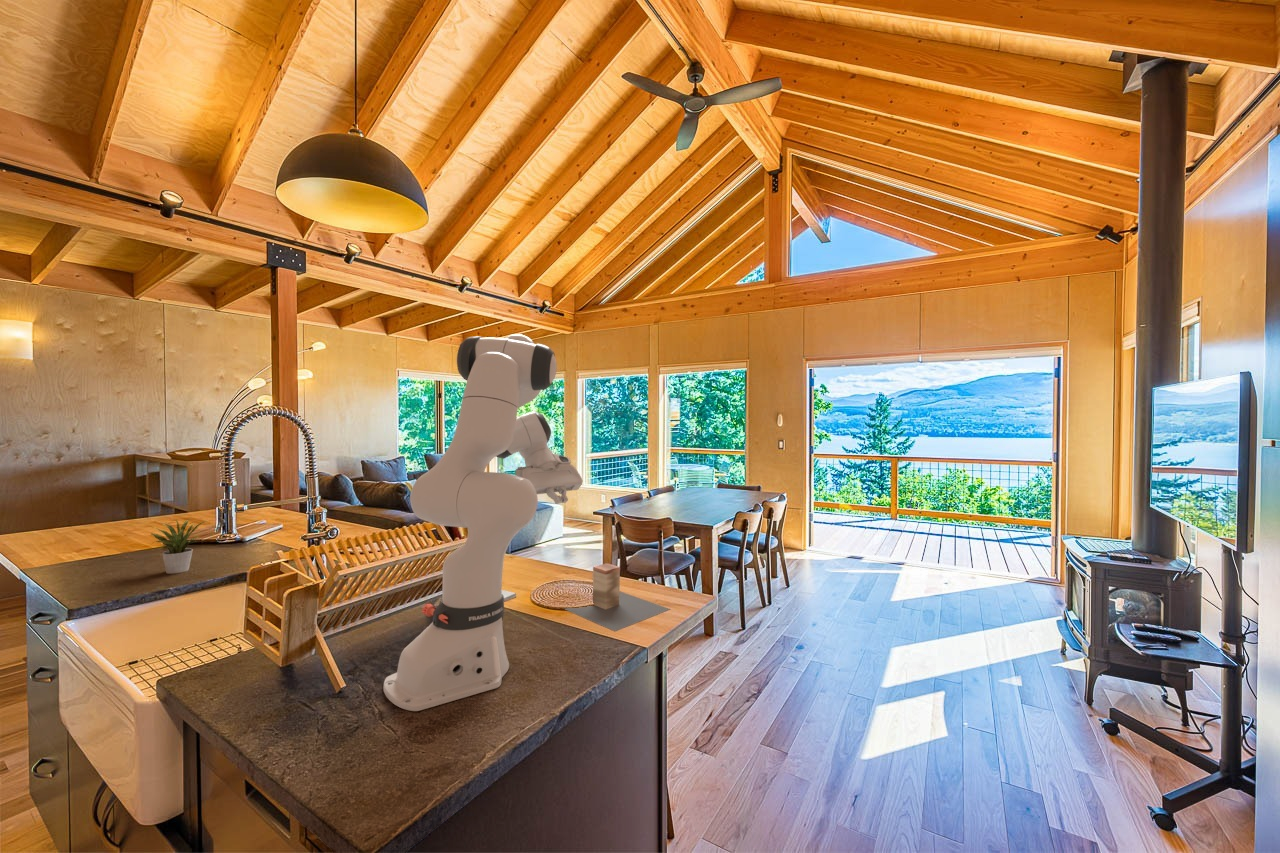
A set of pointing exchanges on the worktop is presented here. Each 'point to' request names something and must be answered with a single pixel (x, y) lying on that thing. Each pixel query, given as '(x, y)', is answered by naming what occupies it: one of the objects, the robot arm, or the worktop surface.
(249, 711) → the worktop surface
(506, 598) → the hard drive
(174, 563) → the house plant
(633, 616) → the rubber mat
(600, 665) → the worktop surface
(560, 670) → the worktop surface
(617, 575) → the beige brown block
